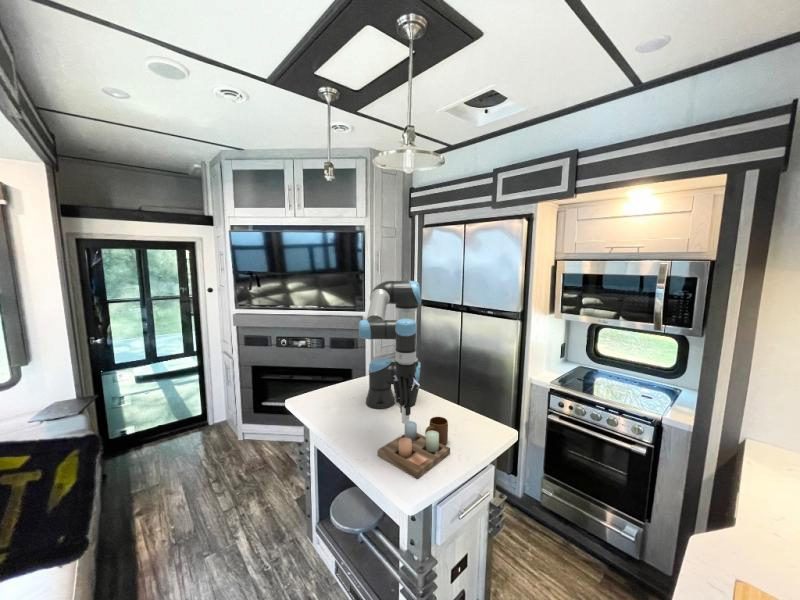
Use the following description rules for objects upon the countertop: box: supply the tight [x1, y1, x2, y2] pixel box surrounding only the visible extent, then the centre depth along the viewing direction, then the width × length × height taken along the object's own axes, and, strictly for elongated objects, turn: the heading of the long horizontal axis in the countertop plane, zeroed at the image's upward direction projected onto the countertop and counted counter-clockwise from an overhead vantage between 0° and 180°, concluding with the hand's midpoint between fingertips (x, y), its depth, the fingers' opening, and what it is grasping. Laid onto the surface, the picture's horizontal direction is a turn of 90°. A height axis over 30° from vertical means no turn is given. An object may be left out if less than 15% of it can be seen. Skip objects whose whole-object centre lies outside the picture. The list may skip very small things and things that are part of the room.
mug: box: [424, 416, 449, 446], centre depth 134 cm, size 12×8×9 cm, turn 136°
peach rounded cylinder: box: [399, 438, 413, 459], centre depth 124 cm, size 5×5×6 cm
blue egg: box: [403, 420, 418, 442], centre depth 134 cm, size 5×5×6 cm
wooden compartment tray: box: [376, 432, 451, 480], centre depth 127 cm, size 20×20×3 cm
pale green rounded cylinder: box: [425, 430, 439, 453], centre depth 127 cm, size 5×5×6 cm
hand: (405, 422), depth 123 cm, fingers closed
